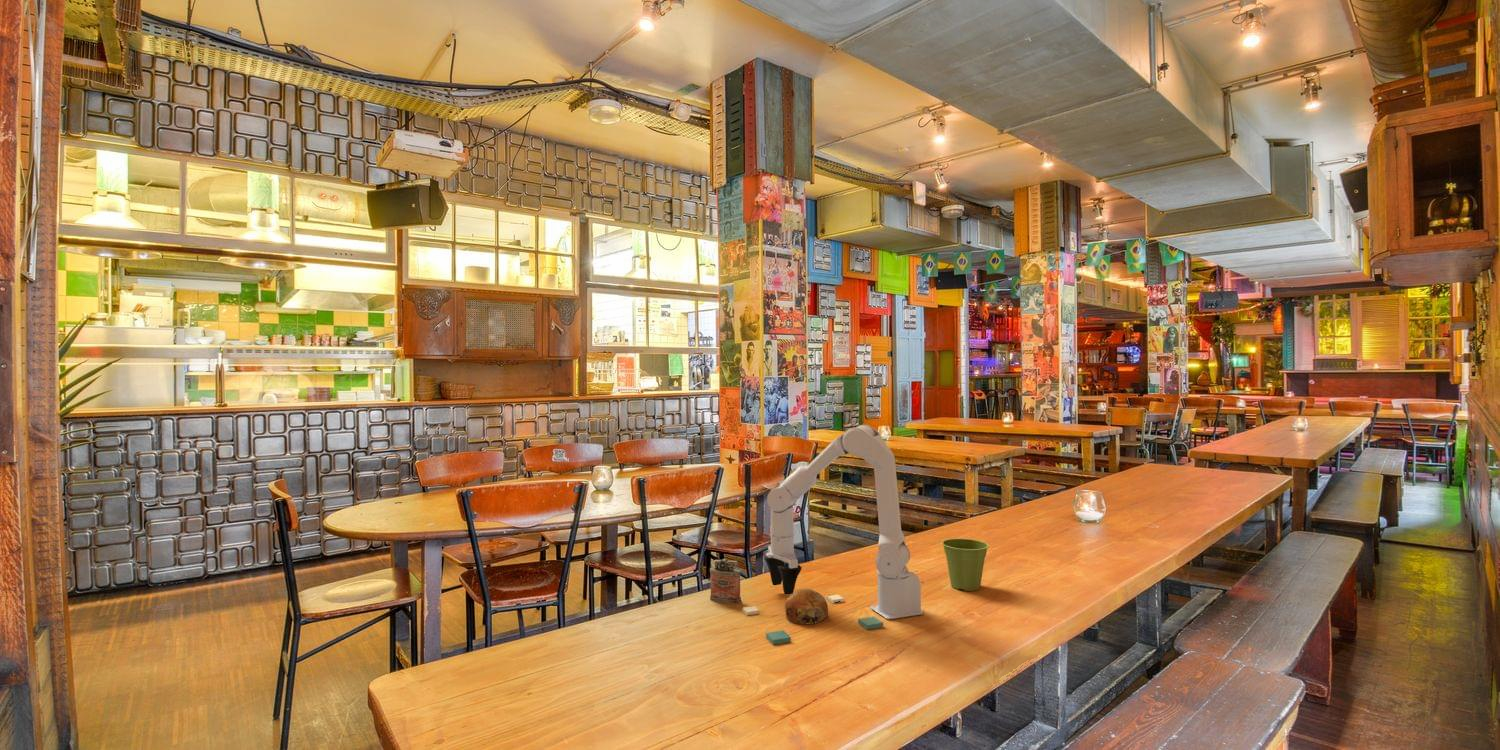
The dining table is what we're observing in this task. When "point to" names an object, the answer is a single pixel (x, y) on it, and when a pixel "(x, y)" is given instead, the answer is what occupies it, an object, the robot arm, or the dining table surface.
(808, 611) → the bread roll
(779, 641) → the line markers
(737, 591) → the lighter
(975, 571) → the plant pot
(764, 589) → the dining table surface
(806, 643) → the dining table surface
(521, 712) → the dining table surface
